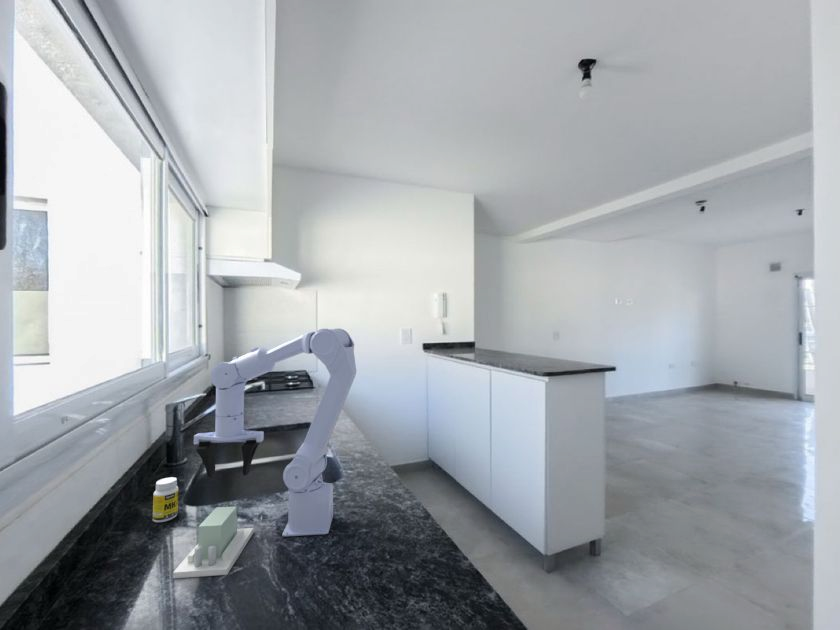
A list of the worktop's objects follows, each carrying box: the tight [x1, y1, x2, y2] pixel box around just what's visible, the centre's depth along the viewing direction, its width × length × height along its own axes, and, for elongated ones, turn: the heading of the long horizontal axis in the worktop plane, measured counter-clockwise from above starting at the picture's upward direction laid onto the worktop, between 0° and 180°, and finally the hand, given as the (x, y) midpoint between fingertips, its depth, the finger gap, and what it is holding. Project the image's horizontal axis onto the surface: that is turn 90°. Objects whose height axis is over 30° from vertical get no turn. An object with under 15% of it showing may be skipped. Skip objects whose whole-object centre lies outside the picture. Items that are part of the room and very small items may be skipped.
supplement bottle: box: [152, 476, 179, 523], centre depth 82 cm, size 5×5×8 cm
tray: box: [172, 517, 255, 579], centre depth 69 cm, size 9×13×4 cm
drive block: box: [197, 506, 238, 559], centre depth 69 cm, size 4×7×6 cm, turn 6°
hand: (228, 474), depth 81 cm, fingers open, 7 cm apart
